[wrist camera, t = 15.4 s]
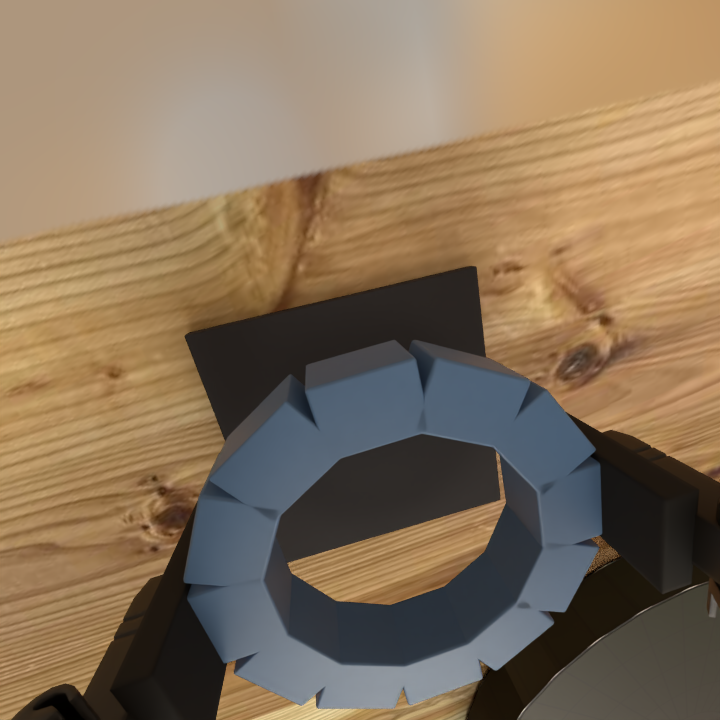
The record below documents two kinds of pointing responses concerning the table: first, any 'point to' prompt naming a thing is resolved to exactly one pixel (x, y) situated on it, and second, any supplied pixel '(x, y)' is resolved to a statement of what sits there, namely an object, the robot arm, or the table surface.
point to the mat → (375, 466)
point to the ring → (418, 614)
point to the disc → (615, 656)
